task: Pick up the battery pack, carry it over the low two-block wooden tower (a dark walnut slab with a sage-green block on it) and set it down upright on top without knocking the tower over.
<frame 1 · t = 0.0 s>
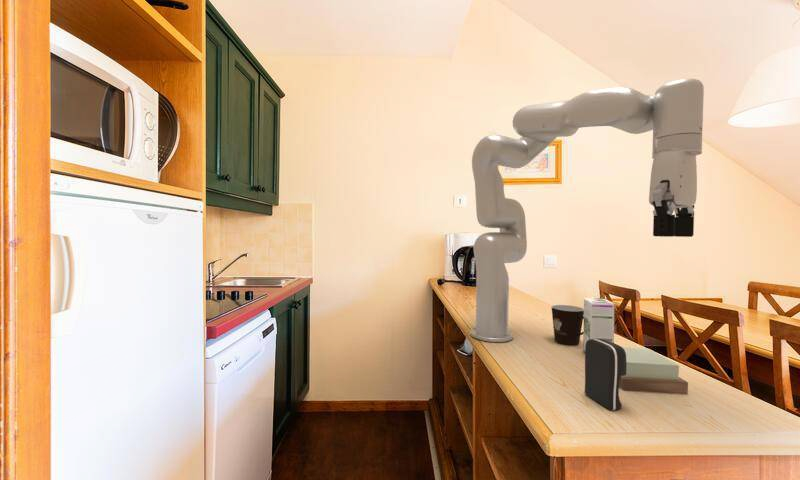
hand: (673, 236, 68), 31 cm above the counter, tool pointing down, fingers open, 9 cm apart
syrup box: (597, 356, 90), on the counter
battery: (604, 402, 65), on the counter
coffee mug: (568, 344, 99), on the counter
tower top: (637, 368, 75), point 2 cm above the counter, touching tower base
tower base: (637, 382, 75), on the counter, touching tower top
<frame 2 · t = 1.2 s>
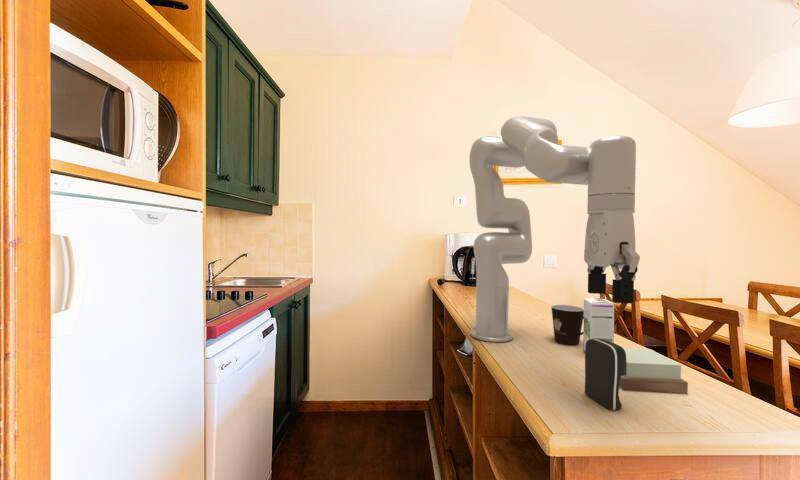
hand: (608, 297, 65), 20 cm above the counter, tool pointing down, fingers open, 9 cm apart
nothing on the counter moved.
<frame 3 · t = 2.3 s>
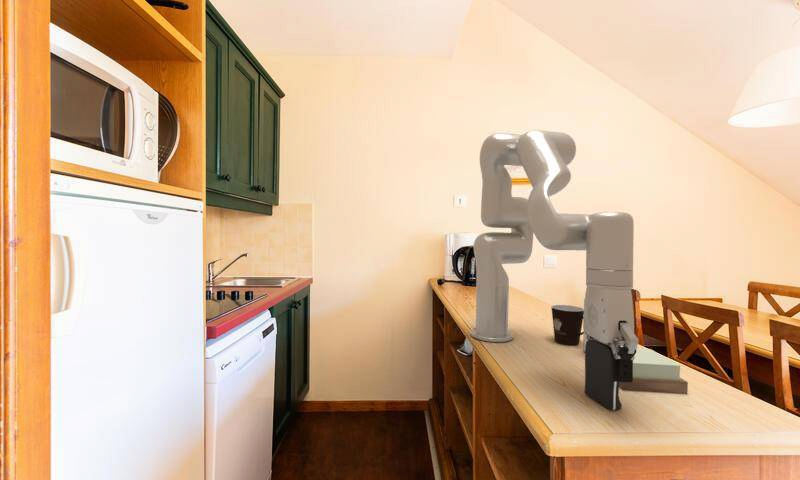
hand: (608, 370, 65), 6 cm above the counter, tool pointing down, fingers open, 9 cm apart
tower top: (638, 369, 75), point 2 cm above the counter
tower base: (637, 382, 75), on the counter
everything else where it was.
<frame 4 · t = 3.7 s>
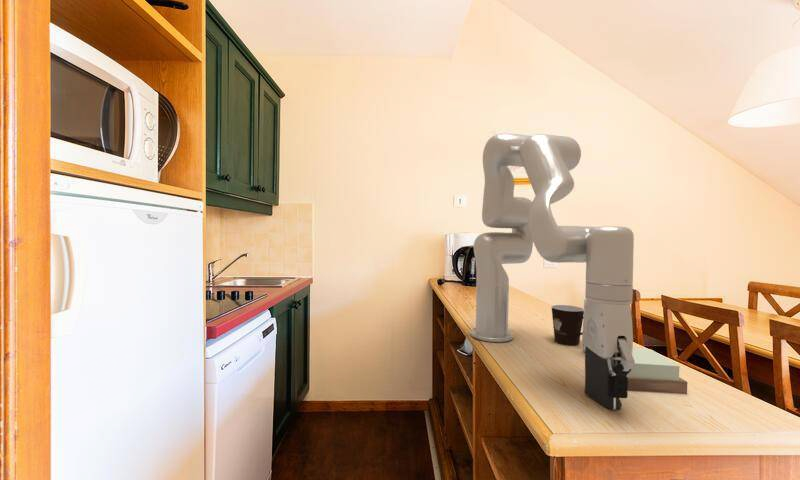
hand: (606, 386, 65), 3 cm above the counter, tool pointing down, fingers closed on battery, 6 cm apart
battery: (605, 402, 65), on the counter, touching gripper
everything else where it was.
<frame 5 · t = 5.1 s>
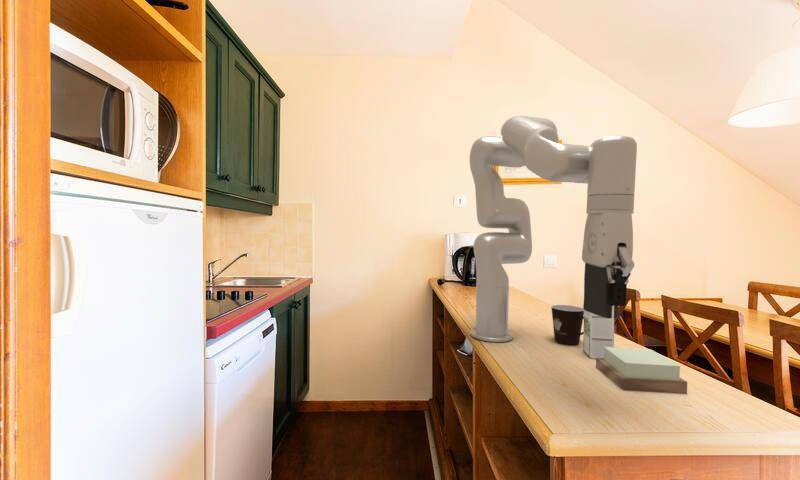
hand: (604, 299, 65), 19 cm above the counter, tool pointing down, fingers closed on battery, 6 cm apart
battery: (603, 315, 66), point 16 cm above the counter, touching gripper
tower top: (638, 369, 75), point 2 cm above the counter, touching tower base
tower base: (637, 382, 75), on the counter, touching tower top
everything else where it was.
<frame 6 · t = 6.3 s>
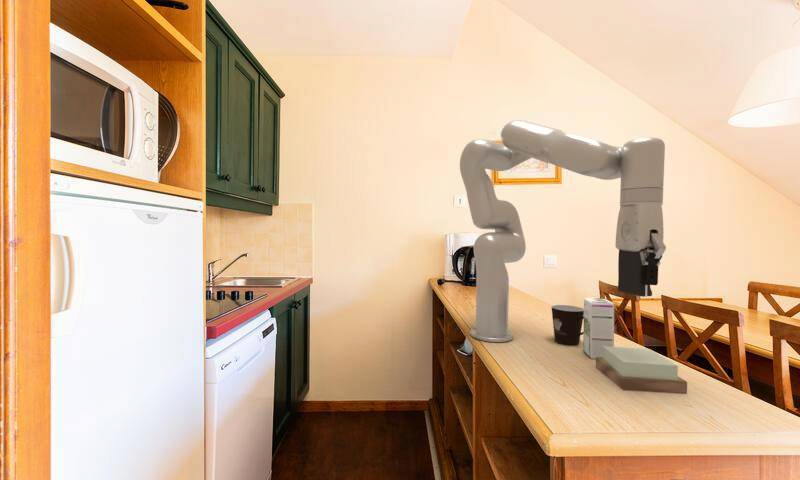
hand: (637, 281, 74), 21 cm above the counter, tool pointing down, fingers closed on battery, 6 cm apart
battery: (636, 295, 75), point 18 cm above the counter, touching gripper
tower top: (636, 368, 75), point 2 cm above the counter
tower base: (637, 382, 76), on the counter
everything else where it was.
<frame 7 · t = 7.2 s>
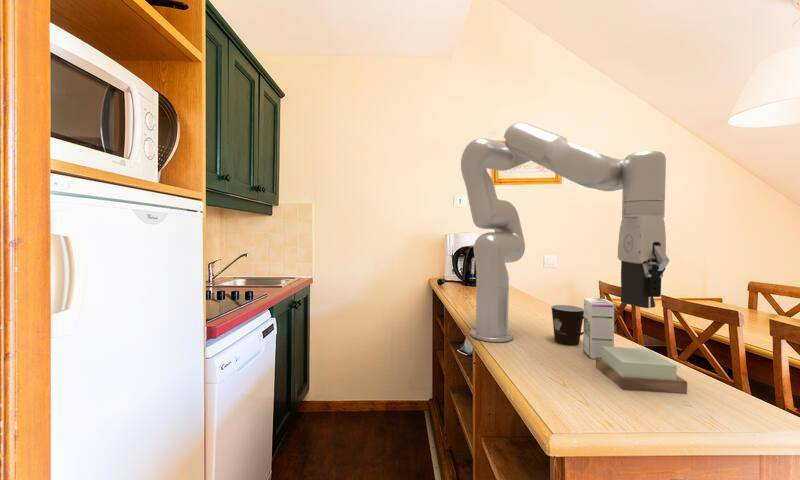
hand: (640, 292, 75), 19 cm above the counter, tool pointing down, fingers closed on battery, 6 cm apart
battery: (639, 306, 75), point 16 cm above the counter, touching gripper
tower top: (635, 368, 75), point 2 cm above the counter, touching tower base
tower base: (637, 381, 76), on the counter, touching tower top
everything else where it was.
when the fingers open (9 cm above the counter, at t = 10.2 s): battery moves 1 cm, resting on tower top.
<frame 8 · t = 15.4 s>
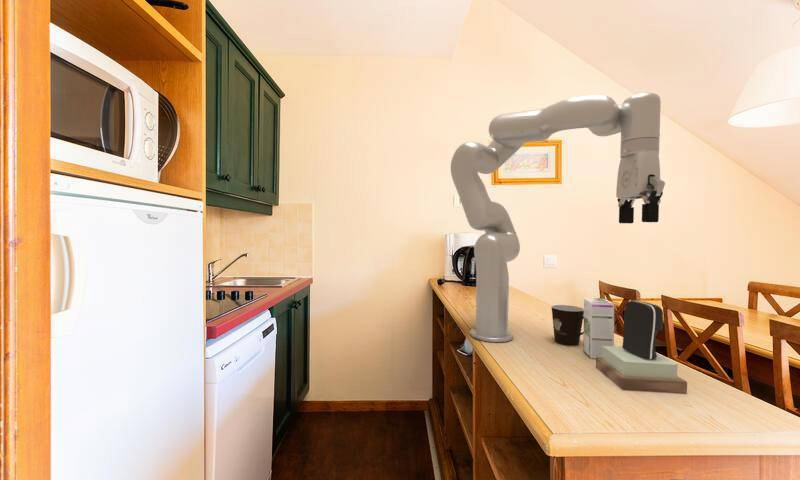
hand: (637, 222, 82), 34 cm above the counter, tool pointing down, fingers open, 9 cm apart
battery: (641, 355, 75), point 5 cm above the counter, touching tower top
tower top: (636, 368, 76), point 2 cm above the counter, touching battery, tower base
everything else where it was.
at the end: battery inside the target area on the tower top (0.7 cm from its centre), point 3.1 cm above the tower top's base; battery tilted 15°; tower top tilted 0° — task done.
